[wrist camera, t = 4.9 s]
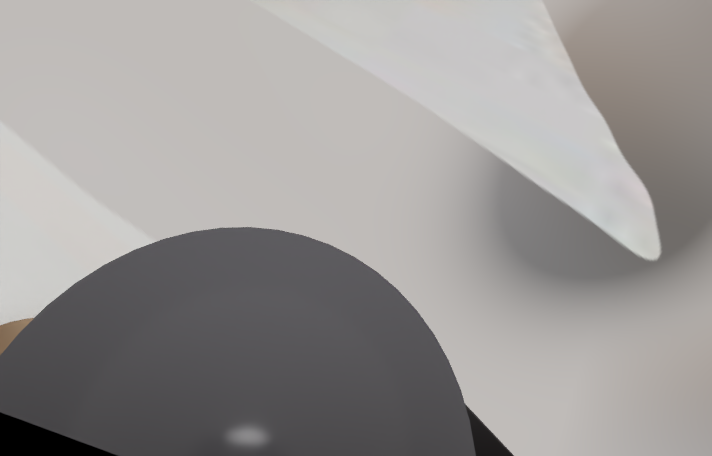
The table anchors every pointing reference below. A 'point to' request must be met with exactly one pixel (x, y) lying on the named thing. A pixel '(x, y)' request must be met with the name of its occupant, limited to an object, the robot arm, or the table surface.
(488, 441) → the robot arm
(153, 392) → the grey stepped cylinder
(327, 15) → the table surface
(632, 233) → the table surface
